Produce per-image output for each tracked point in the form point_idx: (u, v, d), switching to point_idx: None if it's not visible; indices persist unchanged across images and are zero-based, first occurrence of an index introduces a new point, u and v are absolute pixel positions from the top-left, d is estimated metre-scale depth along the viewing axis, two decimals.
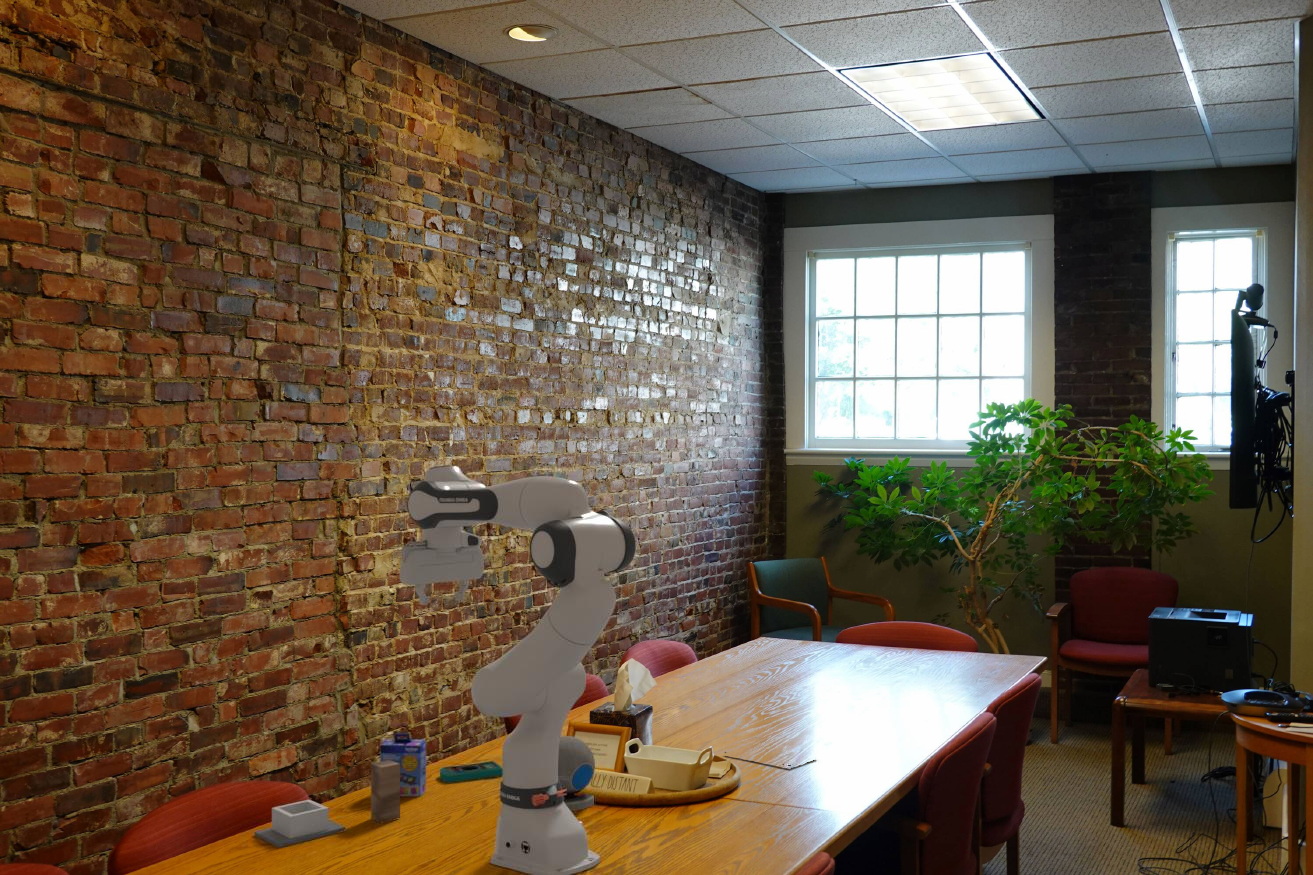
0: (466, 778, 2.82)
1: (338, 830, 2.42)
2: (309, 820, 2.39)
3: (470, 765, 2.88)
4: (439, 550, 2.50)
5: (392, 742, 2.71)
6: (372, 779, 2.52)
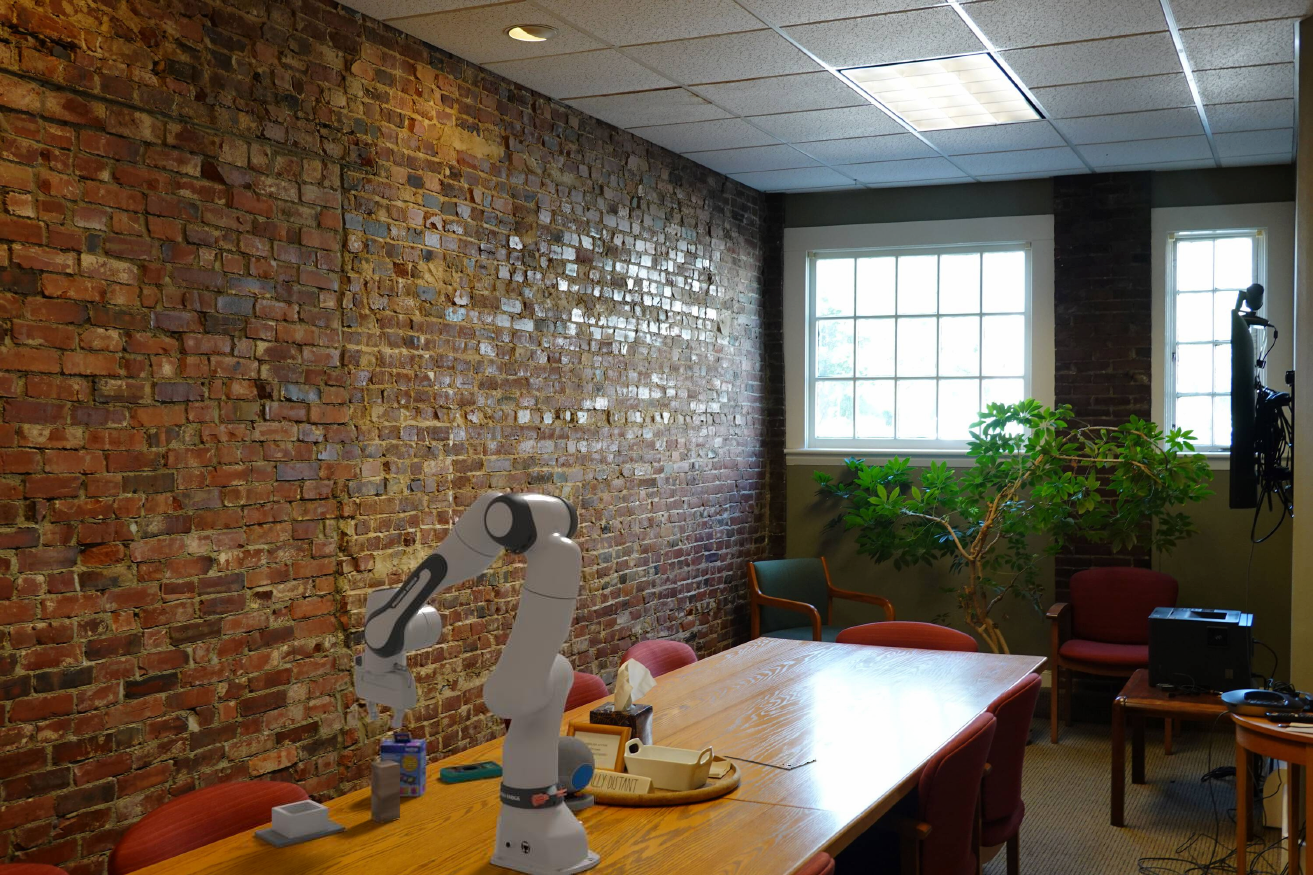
0: (468, 778, 2.82)
1: (338, 830, 2.42)
2: (309, 820, 2.39)
3: (470, 765, 2.88)
4: None
5: (392, 742, 2.71)
6: (372, 779, 2.52)
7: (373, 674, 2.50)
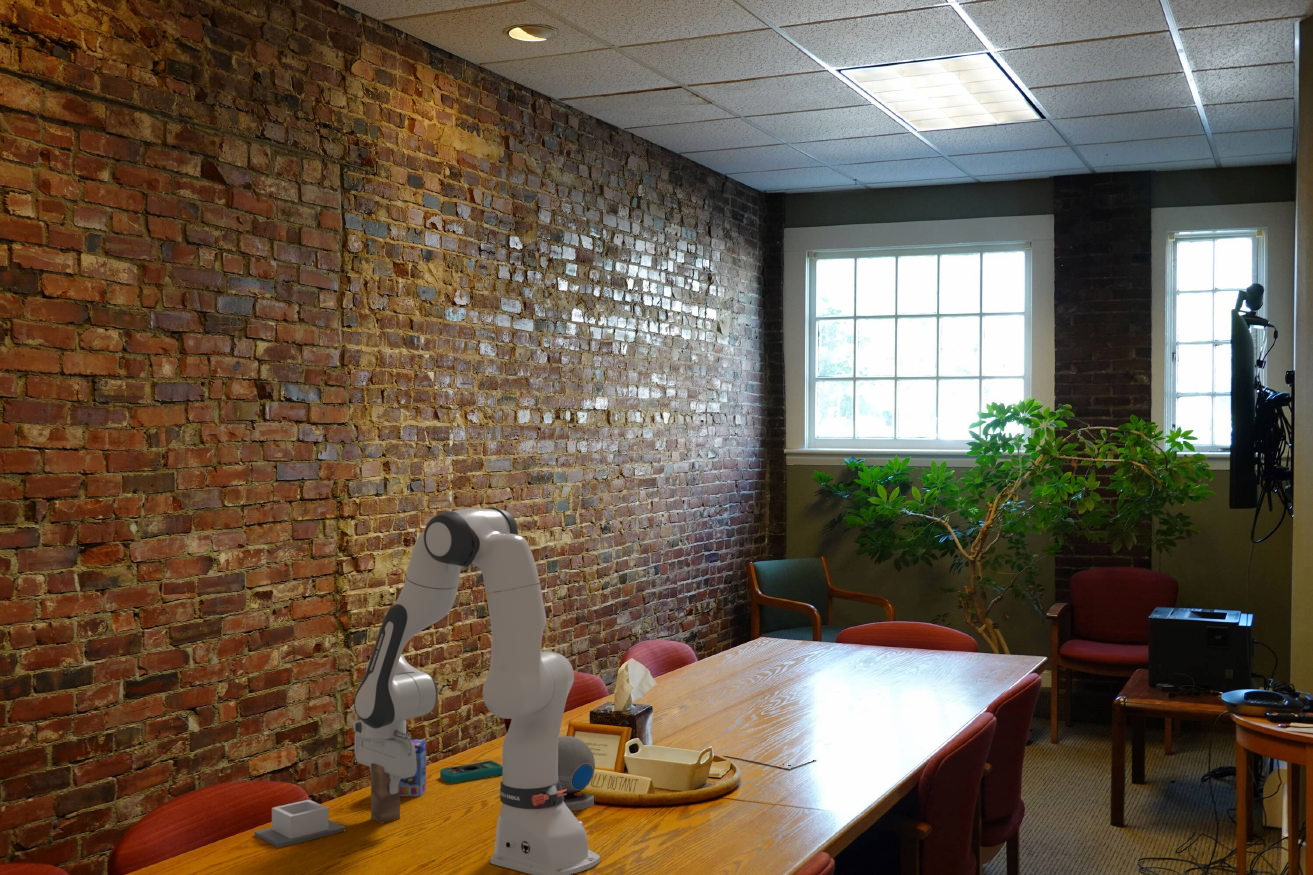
0: (469, 778, 2.82)
1: (338, 830, 2.42)
2: (309, 820, 2.39)
3: (469, 765, 2.88)
4: None
5: None
6: (372, 779, 2.52)
7: (373, 741, 2.50)
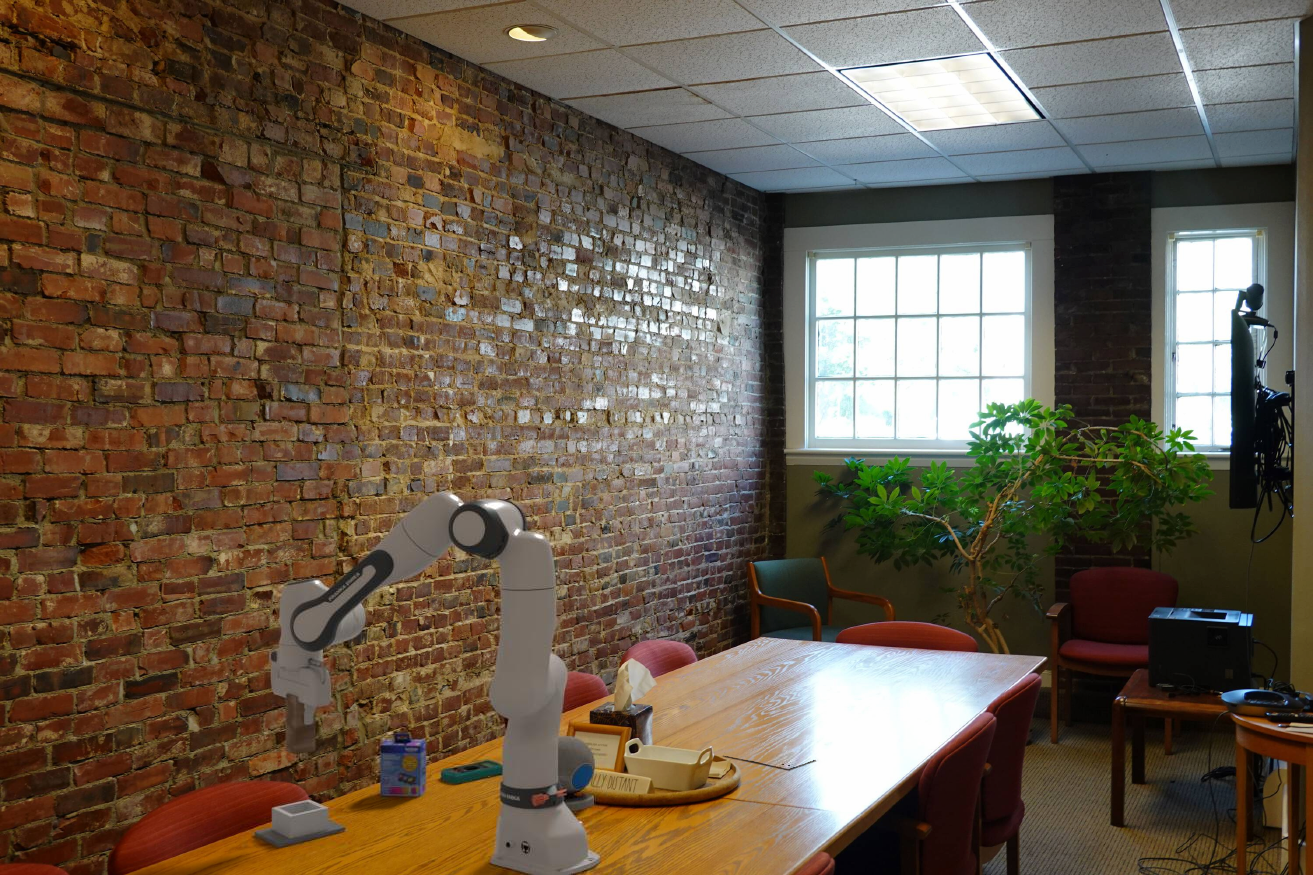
0: (472, 778, 2.82)
1: (338, 830, 2.42)
2: (309, 820, 2.39)
3: (469, 765, 2.88)
4: None
5: (392, 742, 2.71)
6: (287, 709, 2.43)
7: (287, 670, 2.41)
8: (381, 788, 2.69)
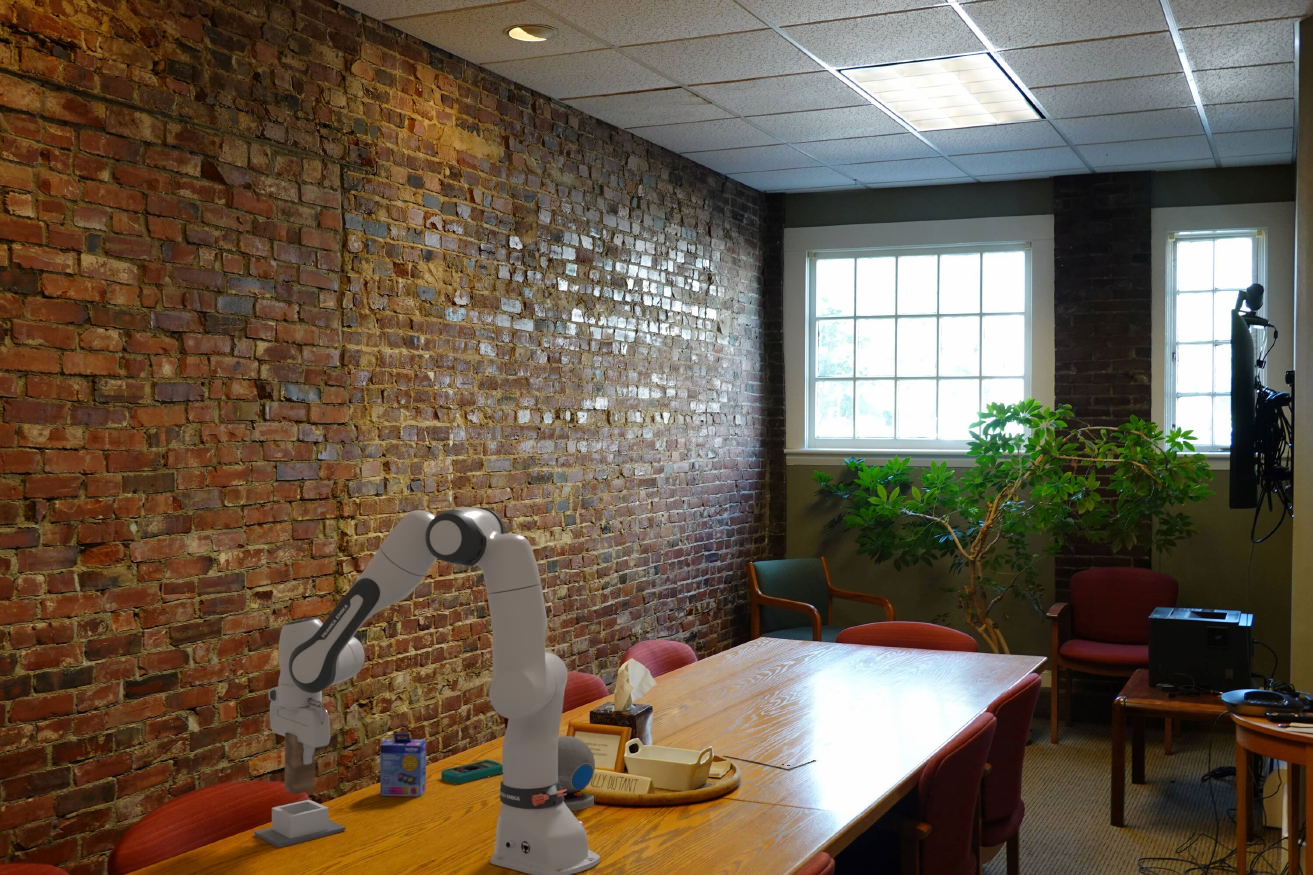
0: (473, 778, 2.82)
1: (338, 830, 2.42)
2: (309, 820, 2.39)
3: (468, 765, 2.88)
4: None
5: (392, 742, 2.71)
6: (286, 749, 2.42)
7: (286, 709, 2.41)
8: (381, 788, 2.69)
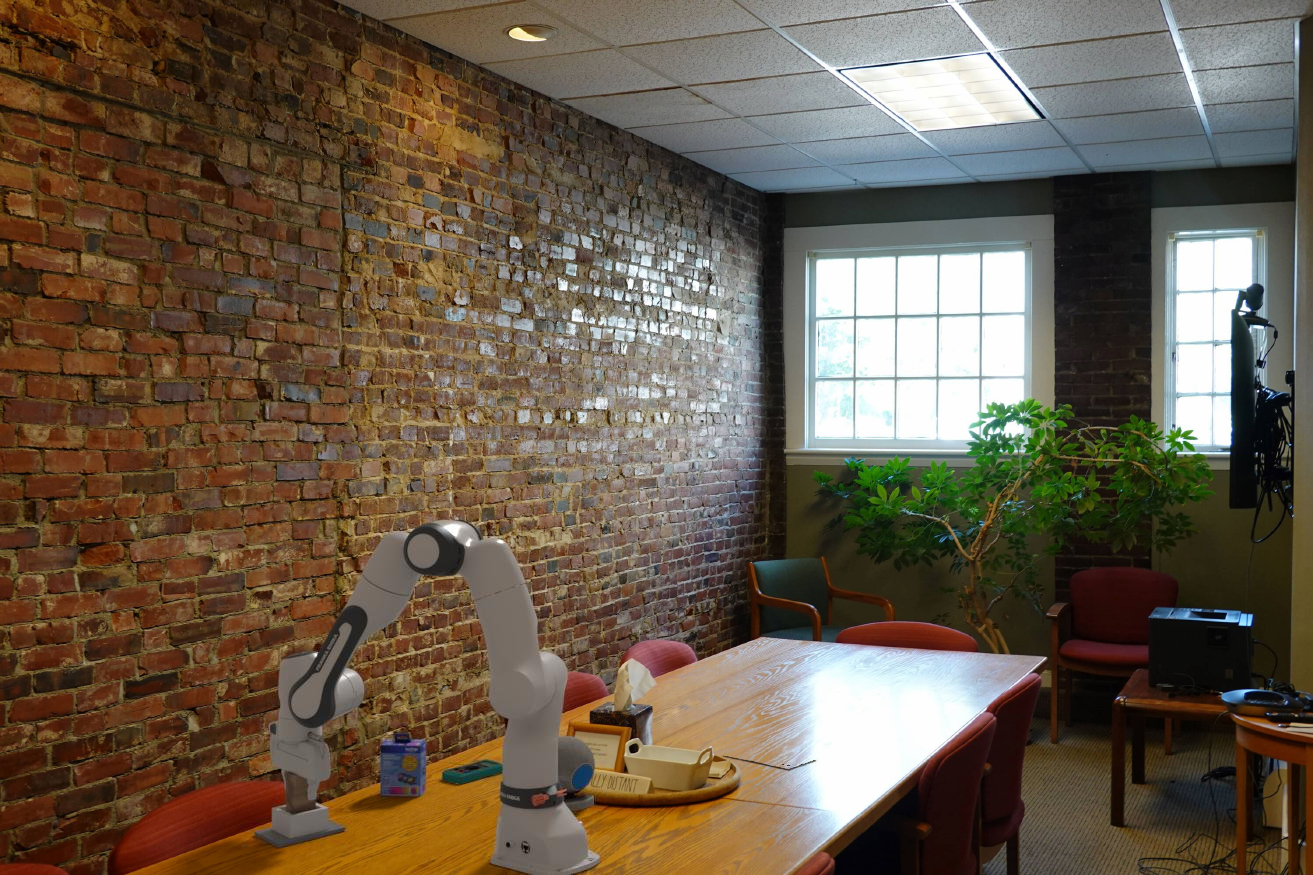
0: (475, 777, 2.82)
1: (338, 830, 2.42)
2: (309, 820, 2.39)
3: (468, 765, 2.88)
4: None
5: (392, 742, 2.71)
6: (287, 788, 2.42)
7: (287, 743, 2.40)
8: (381, 788, 2.69)
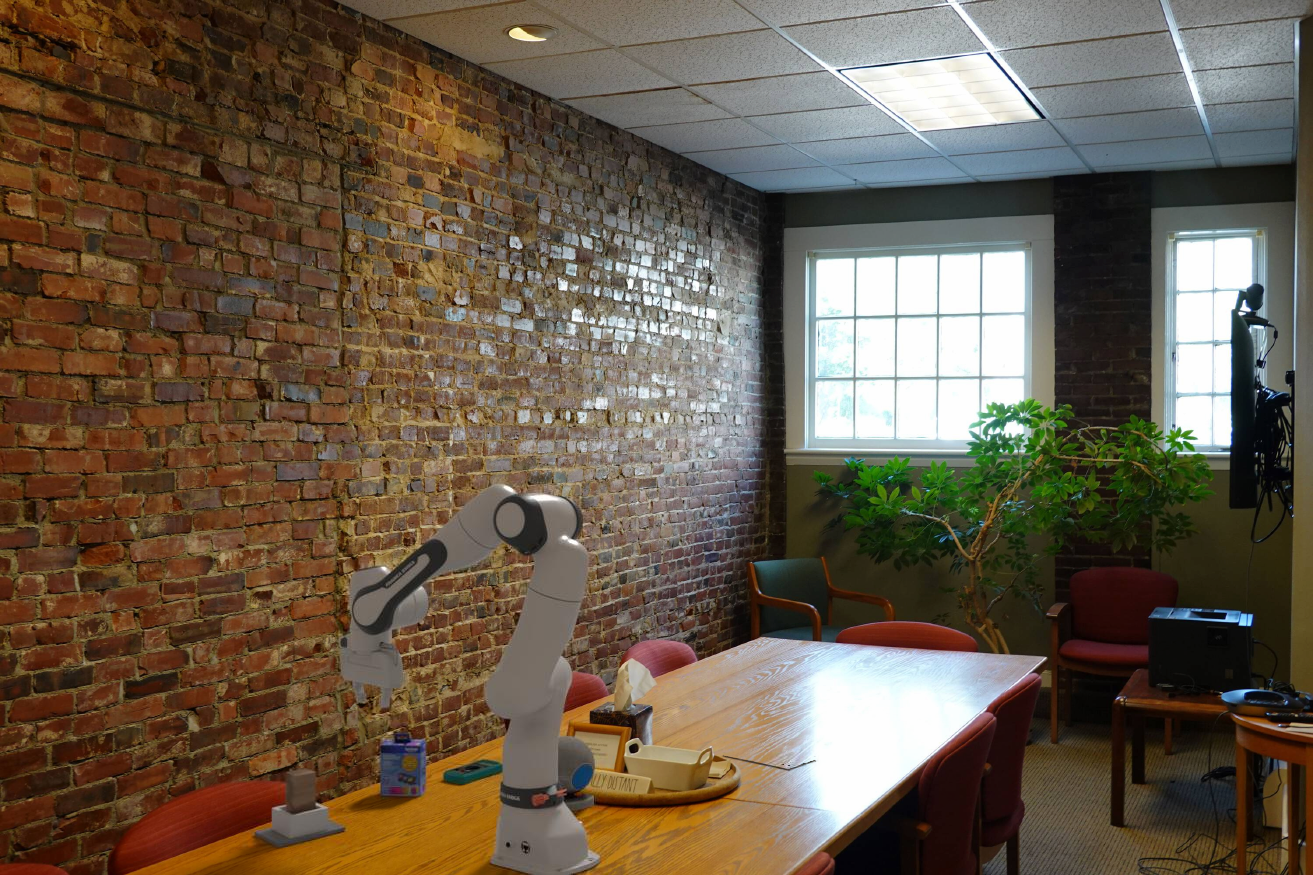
0: (477, 777, 2.82)
1: (338, 830, 2.42)
2: (309, 820, 2.39)
3: (468, 765, 2.88)
4: None
5: (392, 742, 2.71)
6: (287, 788, 2.42)
7: (359, 654, 2.48)
8: (381, 788, 2.69)
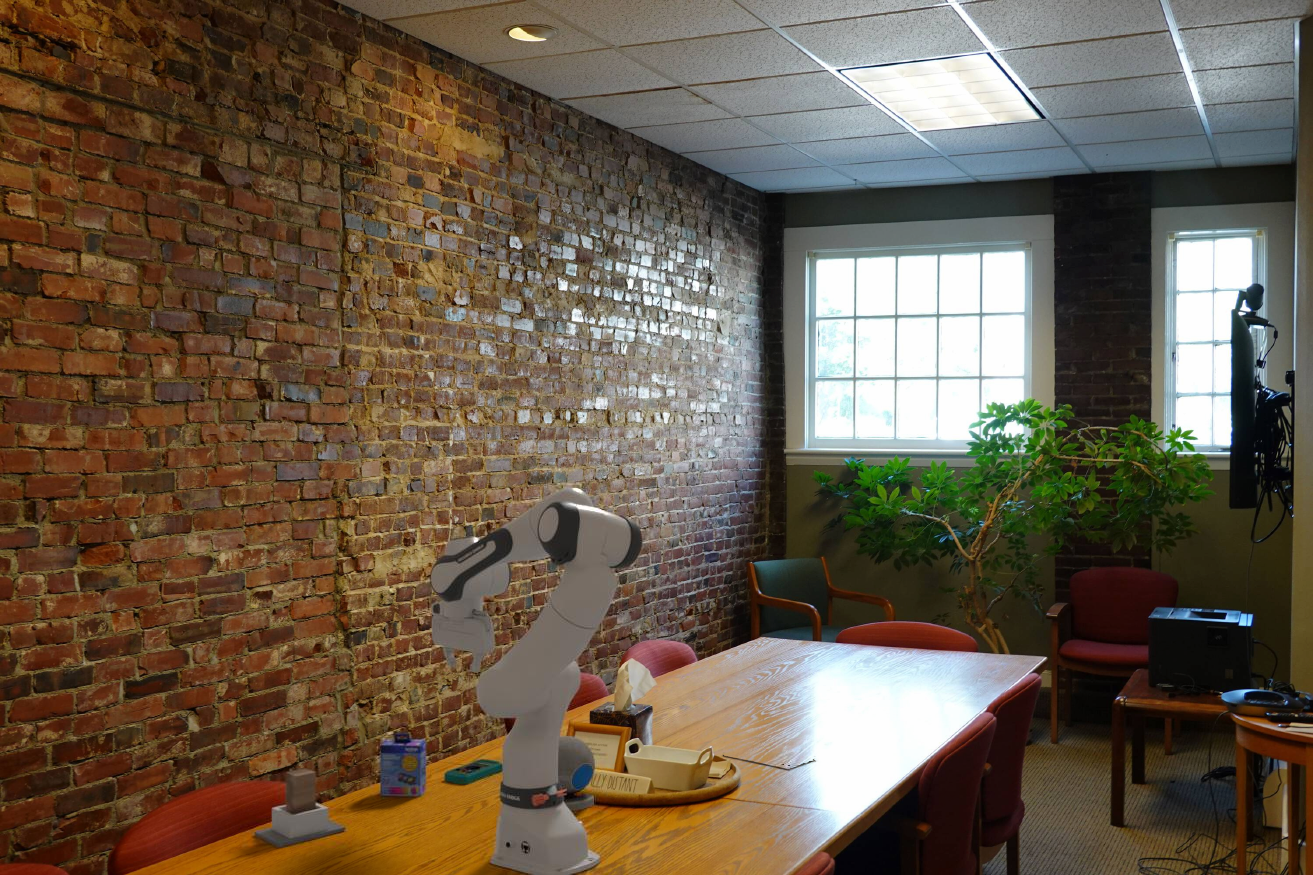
0: (479, 777, 2.83)
1: (338, 830, 2.42)
2: (309, 820, 2.39)
3: (467, 765, 2.88)
4: None
5: (392, 742, 2.71)
6: (287, 788, 2.42)
7: (452, 620, 2.59)
8: (381, 788, 2.69)
